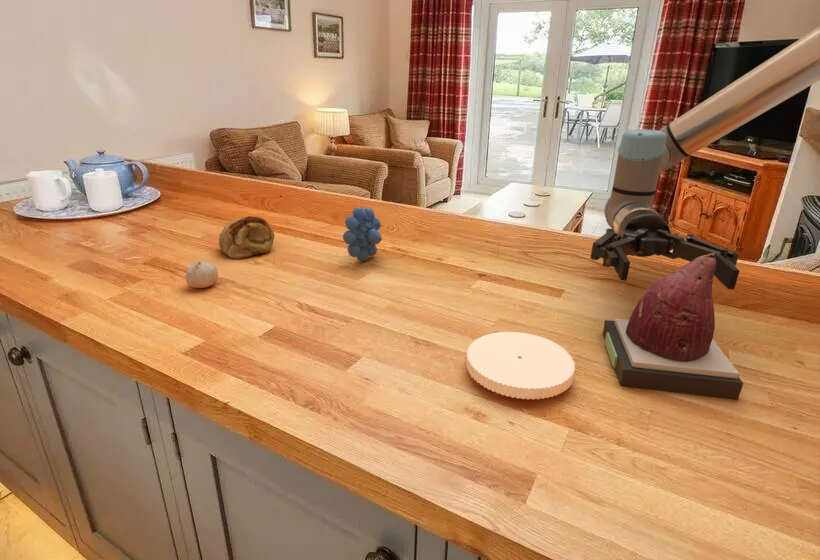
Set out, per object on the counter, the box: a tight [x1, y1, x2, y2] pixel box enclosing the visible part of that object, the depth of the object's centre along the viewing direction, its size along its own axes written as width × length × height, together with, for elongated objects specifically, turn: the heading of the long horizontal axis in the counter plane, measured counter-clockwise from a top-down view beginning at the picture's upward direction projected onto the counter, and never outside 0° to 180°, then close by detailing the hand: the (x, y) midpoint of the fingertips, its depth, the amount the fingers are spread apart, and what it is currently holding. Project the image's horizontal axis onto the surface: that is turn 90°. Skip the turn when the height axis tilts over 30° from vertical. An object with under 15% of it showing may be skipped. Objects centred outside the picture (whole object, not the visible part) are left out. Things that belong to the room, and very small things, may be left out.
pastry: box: [218, 215, 275, 260], centre depth 109 cm, size 14×12×8 cm
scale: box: [602, 318, 744, 400], centre depth 68 cm, size 14×14×3 cm
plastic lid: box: [465, 331, 576, 400], centre depth 65 cm, size 14×14×2 cm
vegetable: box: [626, 253, 716, 362], centre depth 65 cm, size 10×10×15 cm
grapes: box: [342, 206, 383, 262], centre depth 101 cm, size 12×7×12 cm, turn 147°
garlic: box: [185, 260, 219, 289], centre depth 90 cm, size 6×5×5 cm
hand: (678, 275), depth 66 cm, fingers open, 13 cm apart
